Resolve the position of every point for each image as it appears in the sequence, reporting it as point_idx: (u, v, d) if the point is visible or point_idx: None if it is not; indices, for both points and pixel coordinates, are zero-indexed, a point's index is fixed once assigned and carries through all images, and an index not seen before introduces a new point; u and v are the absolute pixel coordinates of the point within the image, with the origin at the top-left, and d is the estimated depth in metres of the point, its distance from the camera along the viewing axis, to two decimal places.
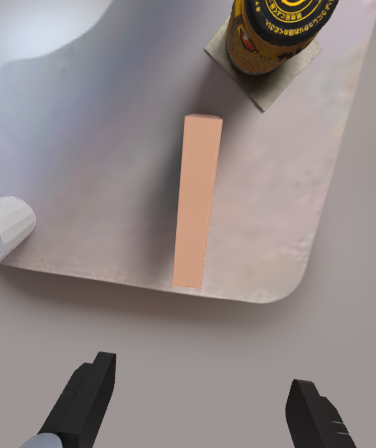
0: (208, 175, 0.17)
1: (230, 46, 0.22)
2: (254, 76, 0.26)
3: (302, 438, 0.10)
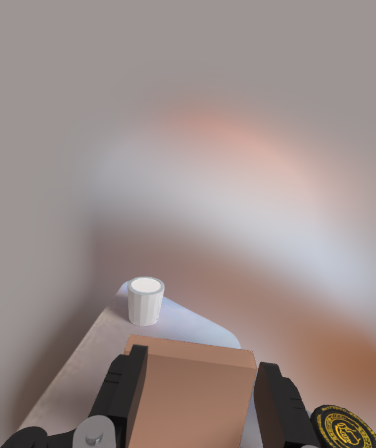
0: (219, 360, 0.24)
1: None
2: None
3: (264, 415, 0.11)
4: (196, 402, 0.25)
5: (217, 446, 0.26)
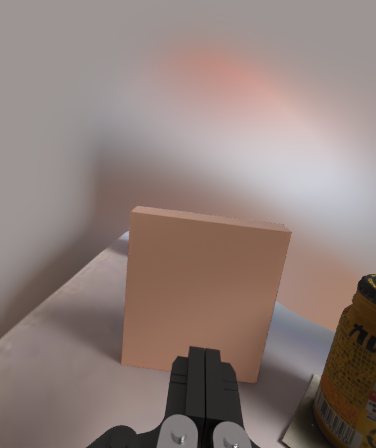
0: (245, 225, 0.20)
1: None
2: (316, 427, 0.20)
3: None
4: (216, 281, 0.21)
5: (240, 340, 0.22)
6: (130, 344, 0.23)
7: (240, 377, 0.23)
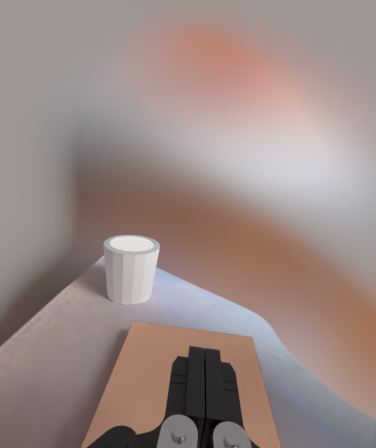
0: None
1: None
2: None
3: None
4: None
5: None
6: None
7: None
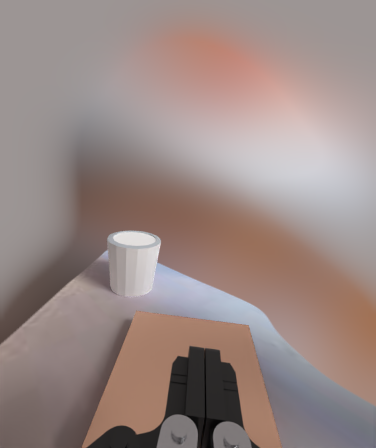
0: None
1: None
2: None
3: None
4: None
5: (242, 410, 0.19)
6: (103, 419, 0.17)
7: None
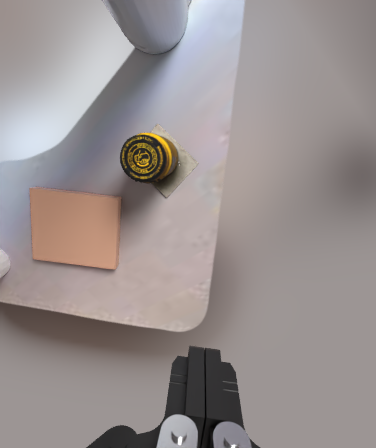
0: None
1: None
2: None
3: None
4: (59, 221, 0.43)
5: (91, 208, 0.42)
6: (101, 264, 0.44)
7: (115, 207, 0.41)
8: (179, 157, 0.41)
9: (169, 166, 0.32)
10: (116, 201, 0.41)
